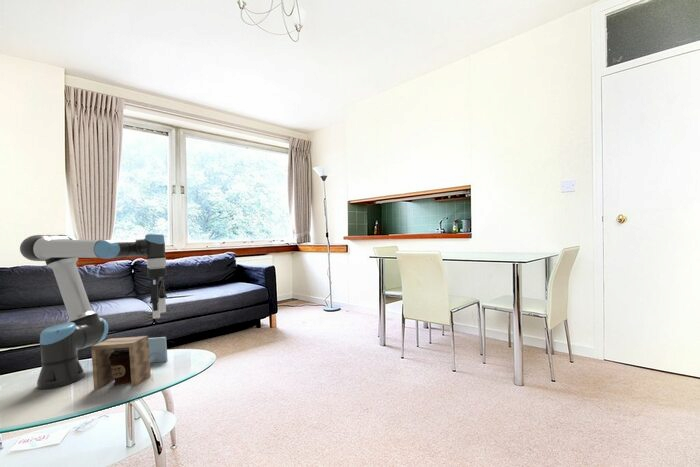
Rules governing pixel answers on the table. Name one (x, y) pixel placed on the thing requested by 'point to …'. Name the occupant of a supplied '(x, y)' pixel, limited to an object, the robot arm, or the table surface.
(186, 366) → the table surface
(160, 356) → the plunger
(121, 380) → the coffee cup
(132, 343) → the tunnel
